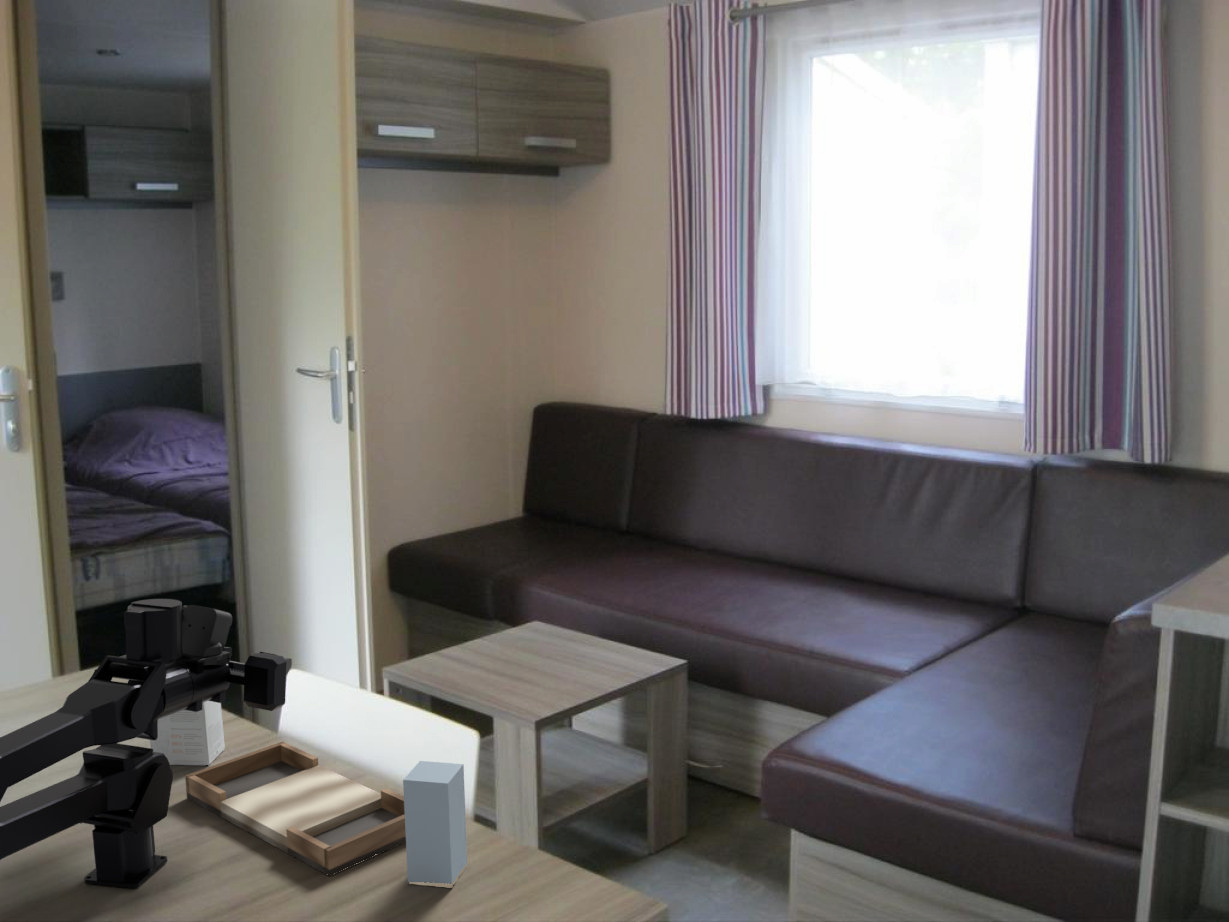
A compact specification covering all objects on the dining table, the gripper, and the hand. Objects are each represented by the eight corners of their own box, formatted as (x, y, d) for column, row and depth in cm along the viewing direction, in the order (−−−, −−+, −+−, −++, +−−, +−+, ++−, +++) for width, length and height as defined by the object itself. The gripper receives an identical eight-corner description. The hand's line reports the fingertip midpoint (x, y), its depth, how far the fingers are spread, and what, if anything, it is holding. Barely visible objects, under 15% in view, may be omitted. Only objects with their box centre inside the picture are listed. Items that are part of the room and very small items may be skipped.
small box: (225, 749, 177) (220, 676, 175) (209, 767, 171) (203, 690, 169) (169, 748, 177) (163, 674, 176) (150, 765, 172) (144, 689, 170)
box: (429, 831, 152) (428, 807, 151) (329, 876, 142) (328, 851, 141) (283, 763, 172) (282, 741, 171) (186, 798, 162) (185, 775, 161)
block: (452, 889, 139) (447, 783, 137) (408, 884, 140) (403, 779, 138) (467, 866, 144) (463, 764, 141) (424, 862, 145) (420, 760, 143)
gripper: (242, 629, 145) (324, 604, 159) (111, 606, 152) (201, 584, 166) (239, 726, 146) (321, 692, 160) (110, 699, 153) (200, 669, 167)
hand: (260, 656), depth 164 cm, fingers open, 9 cm apart
